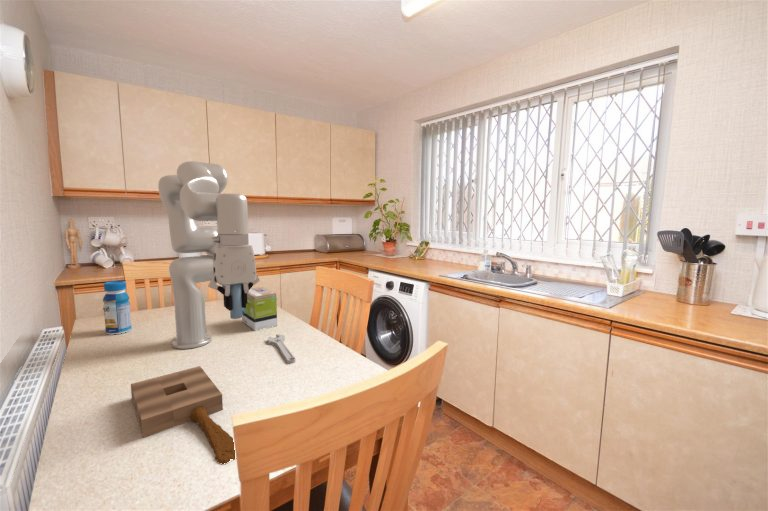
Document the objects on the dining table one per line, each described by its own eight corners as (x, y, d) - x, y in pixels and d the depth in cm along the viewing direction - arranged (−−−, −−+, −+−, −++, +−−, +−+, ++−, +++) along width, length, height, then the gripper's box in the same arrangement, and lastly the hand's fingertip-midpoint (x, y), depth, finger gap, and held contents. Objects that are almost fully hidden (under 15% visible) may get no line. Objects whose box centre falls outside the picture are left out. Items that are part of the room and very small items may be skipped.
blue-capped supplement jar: (131, 332, 133) (127, 282, 131) (104, 336, 129) (99, 285, 126) (132, 326, 140) (128, 279, 138) (106, 330, 136) (102, 281, 133)
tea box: (241, 322, 148) (239, 289, 146) (263, 317, 155) (262, 286, 153) (254, 331, 137) (253, 295, 135) (278, 326, 144) (277, 292, 142)
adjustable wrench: (296, 364, 109) (296, 358, 109) (276, 368, 106) (276, 362, 106) (283, 337, 132) (283, 333, 131) (266, 340, 129) (265, 335, 129)
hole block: (131, 398, 87) (130, 384, 86) (200, 379, 97) (199, 365, 97) (143, 437, 72) (141, 420, 72) (222, 409, 83) (222, 394, 82)
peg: (228, 317, 93) (227, 281, 91) (239, 314, 95) (238, 279, 93) (232, 319, 90) (231, 282, 89) (244, 317, 93) (242, 281, 91)
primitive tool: (249, 453, 69) (248, 437, 68) (222, 468, 64) (221, 451, 64) (206, 416, 80) (205, 403, 80) (180, 428, 76) (179, 413, 76)
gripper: (204, 243, 82) (207, 317, 84) (269, 240, 93) (270, 305, 95) (195, 241, 87) (198, 310, 89) (257, 238, 98) (259, 300, 101)
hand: (235, 307), depth 92 cm, fingers closed on peg, 3 cm apart
